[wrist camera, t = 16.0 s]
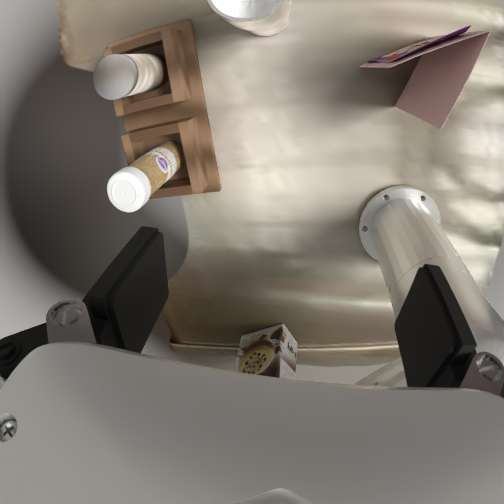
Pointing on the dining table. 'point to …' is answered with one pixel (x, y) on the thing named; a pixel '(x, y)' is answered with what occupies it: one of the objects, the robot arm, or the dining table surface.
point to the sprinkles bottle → (144, 176)
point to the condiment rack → (161, 102)
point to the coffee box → (268, 353)
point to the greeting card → (436, 72)
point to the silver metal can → (254, 14)
